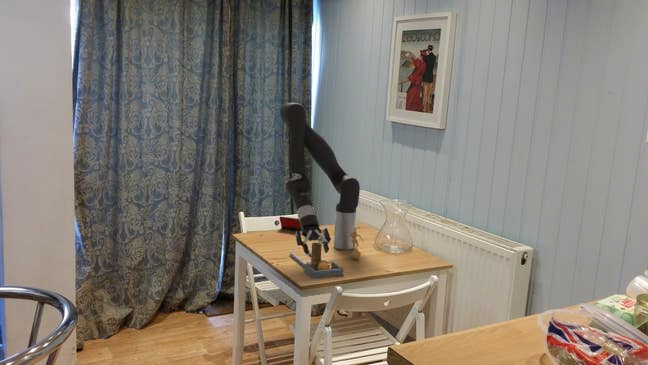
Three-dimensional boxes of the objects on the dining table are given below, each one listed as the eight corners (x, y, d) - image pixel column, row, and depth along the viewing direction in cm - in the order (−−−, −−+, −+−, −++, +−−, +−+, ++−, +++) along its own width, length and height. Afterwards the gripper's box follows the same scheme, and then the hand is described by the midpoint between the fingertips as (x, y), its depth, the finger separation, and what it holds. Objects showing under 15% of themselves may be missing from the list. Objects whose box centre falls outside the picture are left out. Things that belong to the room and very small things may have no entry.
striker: (319, 263, 235) (321, 241, 234) (327, 269, 229) (328, 246, 227) (306, 265, 233) (307, 242, 231) (313, 270, 226) (315, 247, 225)
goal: (333, 268, 232) (334, 261, 231) (342, 275, 224) (343, 268, 223) (304, 271, 226) (304, 263, 226) (312, 278, 219) (312, 270, 218)
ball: (330, 273, 224) (326, 271, 228) (330, 262, 224) (325, 260, 228) (320, 274, 222) (315, 272, 226) (320, 263, 222) (315, 261, 226)
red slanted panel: (309, 229, 293) (309, 215, 291) (301, 233, 283) (302, 219, 281) (286, 225, 296) (287, 212, 295) (278, 230, 286) (279, 216, 285)
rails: (310, 254, 249) (310, 250, 249) (329, 268, 231) (329, 264, 231) (289, 255, 245) (289, 252, 245) (307, 270, 227) (307, 266, 227)
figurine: (350, 261, 241) (352, 234, 239) (342, 257, 247) (344, 231, 244) (366, 259, 246) (368, 233, 244) (358, 255, 251) (360, 229, 249)
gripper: (294, 214, 233) (304, 249, 225) (326, 213, 239) (336, 246, 231) (289, 224, 239) (298, 258, 231) (320, 222, 245) (330, 255, 237)
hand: (317, 252), depth 231 cm, fingers open, 8 cm apart
